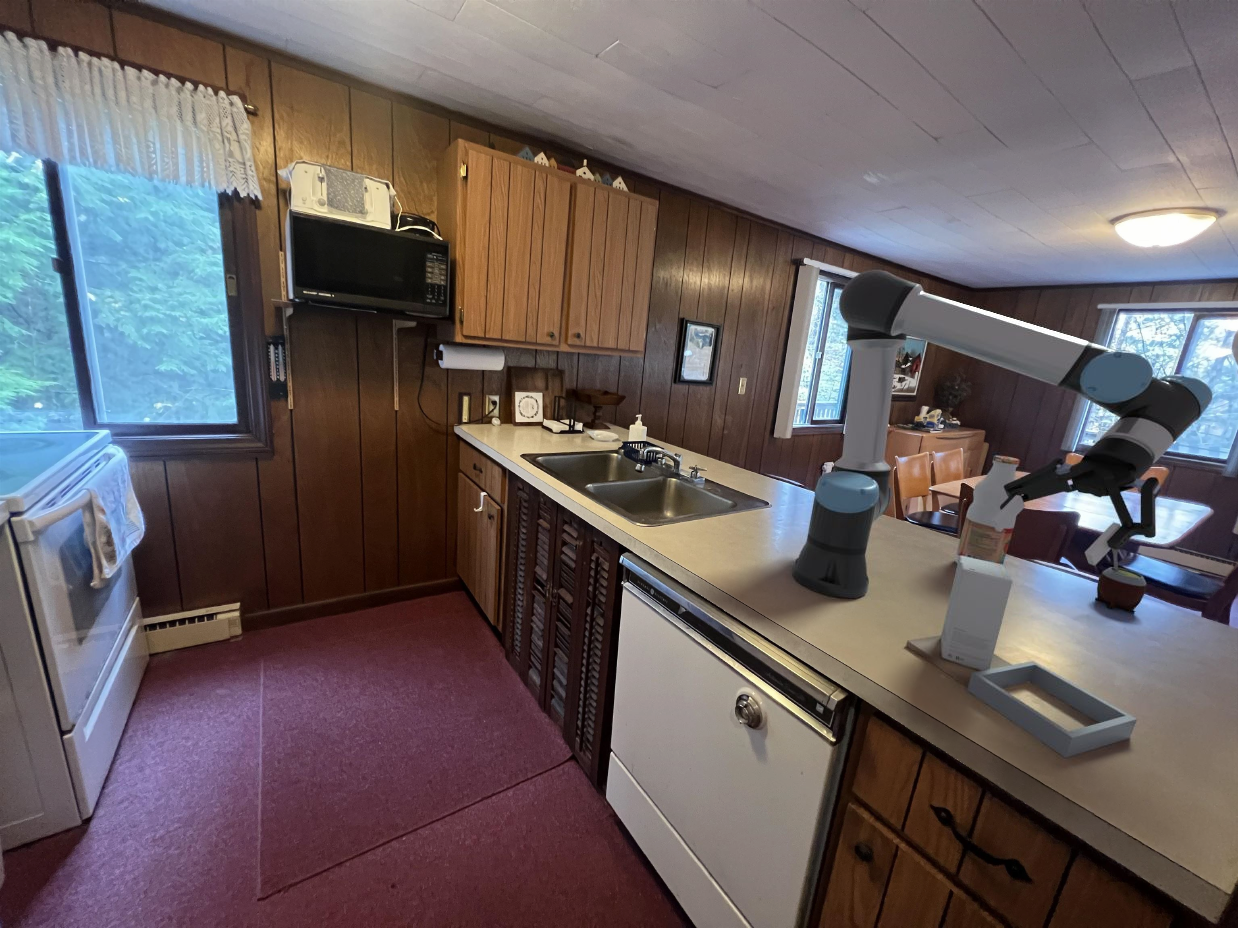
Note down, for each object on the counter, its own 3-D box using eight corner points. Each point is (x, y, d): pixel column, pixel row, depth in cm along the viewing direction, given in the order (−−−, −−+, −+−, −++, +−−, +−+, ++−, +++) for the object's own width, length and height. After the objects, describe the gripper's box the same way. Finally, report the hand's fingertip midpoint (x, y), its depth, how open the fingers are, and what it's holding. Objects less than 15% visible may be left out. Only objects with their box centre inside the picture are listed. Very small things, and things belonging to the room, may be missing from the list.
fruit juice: (946, 557, 125) (973, 451, 119) (985, 561, 125) (1014, 455, 118) (968, 573, 116) (998, 459, 110) (1009, 578, 115) (1042, 464, 109)
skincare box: (988, 674, 75) (1015, 582, 71) (938, 658, 78) (961, 569, 75) (983, 649, 82) (1008, 564, 78) (937, 635, 85) (959, 552, 82)
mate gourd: (1141, 610, 104) (1165, 545, 101) (1130, 618, 100) (1154, 551, 97) (1095, 594, 110) (1116, 532, 107) (1083, 601, 106) (1104, 537, 103)
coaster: (906, 645, 83) (907, 640, 83) (956, 637, 87) (957, 632, 87) (969, 688, 73) (971, 682, 72) (1022, 677, 77) (1024, 671, 76)
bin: (966, 690, 72) (972, 672, 72) (1027, 677, 77) (1032, 660, 76) (1065, 757, 61) (1072, 737, 60) (1130, 737, 65) (1137, 718, 65)
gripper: (1240, 489, 70) (1144, 592, 68) (1046, 451, 93) (971, 528, 91) (1234, 452, 67) (1133, 559, 66) (1035, 423, 90) (957, 501, 88)
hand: (1038, 541), depth 78 cm, fingers open, 13 cm apart
